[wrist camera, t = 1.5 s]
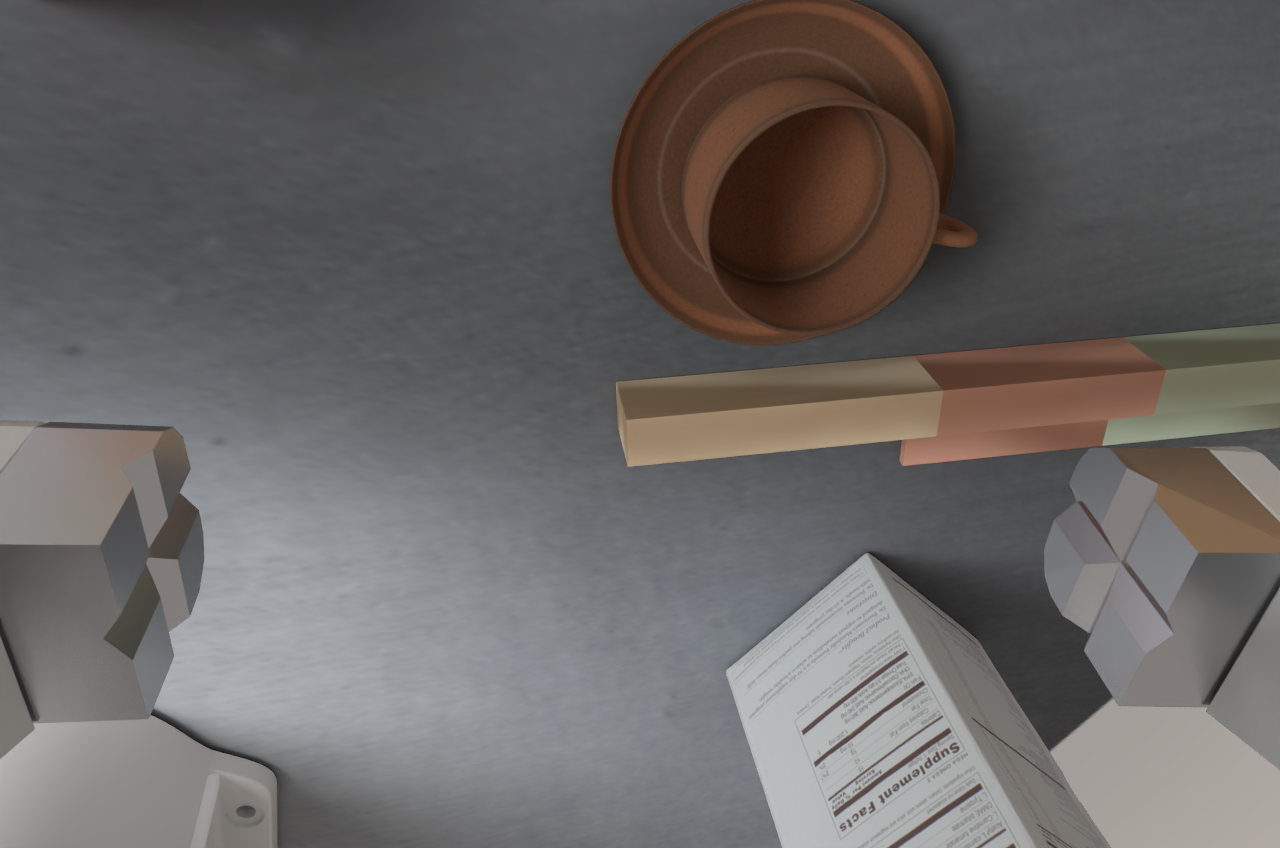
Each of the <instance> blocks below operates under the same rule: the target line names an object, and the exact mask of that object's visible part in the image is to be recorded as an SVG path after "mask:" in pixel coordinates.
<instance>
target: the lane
mask: <svg viewBox="0 0 1280 848" xmlns="http://www.w3.org/2000/svg"><path fill="white" fill-rule="evenodd" d="M616 393H617V419H618V429H619V433H620V437H621V441H622V445H623V449H624V453H625V457H626V461H627V465H628V467H630V466H640V465H650V464H660V463H670V462H681V461H691V460H701V459H711V458H721V457H732V456H742V455H752V454H762V453H772V452H782V451H793V450H803V449H813V448H823V447H833V446H844V445H854V444H864V443H874V442H884V441H894V440H902V444H901V452H900V460H899V461H900V463H901V464H902V465H903V466H907V465H917V464H927V463H937V462H947V461H957V460H967V459H976V458H986V457H996V456H1006V455H1016V454H1026V453H1036V452H1045V451H1055V450H1065V449H1075V448H1085V447H1095V446H1105V445H1114V444H1124V443H1134V442H1144V441H1154V440H1164V439H1174V438H1183V437H1193V436H1203V435H1213V434H1223V433H1233V432H1243V431H1252V430H1262V429H1272V428H1280V323H1277V324H1266V325H1255V326H1243V327H1232V328H1221V329H1209V330H1198V331H1187V332H1175V333H1164V334H1153V335H1141V336H1130V337H1119V338H1107V339H1096V340H1085V341H1073V342H1062V343H1051V344H1039V345H1028V346H1017V347H1005V348H994V349H983V350H971V351H960V352H949V353H937V354H926V355H915V356H903V357H892V358H881V359H869V360H858V361H847V362H835V363H824V364H813V365H801V366H790V367H779V368H767V369H756V370H745V371H733V372H722V373H711V374H699V375H688V376H677V377H665V378H654V379H643V380H631V381H620V382H616Z"/></svg>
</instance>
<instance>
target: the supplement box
mask: <svg viewBox="0 0 1280 848" xmlns="http://www.w3.org/2000/svg"><path fill="white" fill-rule="evenodd" d="M726 674H727V677H728V680H729V683H730V687H731V690H732V693H733V696H734V699H735V702H736V705H737V708H738V711H739V715H740V718H741V721H742V724H743V727H744V730H745V733H746V736H747V739H748V743H749V746H750V749H751V752H752V755H753V758H754V761H755V764H756V767H757V770H758V774H759V777H760V780H761V783H762V786H763V789H764V792H765V795H766V798H767V802H768V805H769V808H770V811H771V814H772V817H773V820H774V823H775V826H776V829H777V833H778V836H779V839H780V842H781V845H782V848H1111V847H1110V845H1109V844H1108V842H1107V841H1106V839H1105V838H1104V836H1103V835H1102V834H1101V832H1100V831H1099V829H1098V828H1097V826H1096V825H1095V824H1094V822H1093V821H1092V819H1091V817H1090V816H1089V814H1088V813H1087V811H1086V810H1085V808H1084V807H1083V805H1082V804H1081V803H1080V801H1079V800H1078V799H1077V797H1076V796H1075V794H1074V792H1073V791H1072V789H1071V788H1070V786H1069V784H1068V783H1067V781H1066V779H1065V777H1064V775H1063V773H1062V771H1061V770H1060V768H1059V766H1058V765H1057V763H1056V762H1055V760H1054V759H1053V757H1052V755H1051V754H1050V752H1049V750H1048V749H1047V747H1046V746H1045V744H1044V743H1043V741H1042V740H1041V738H1040V736H1039V735H1038V733H1037V732H1036V730H1035V729H1034V727H1033V726H1032V724H1031V723H1030V721H1029V720H1028V718H1027V716H1026V715H1025V713H1024V712H1023V710H1022V709H1021V707H1020V706H1019V704H1018V703H1017V701H1016V700H1015V698H1014V696H1013V695H1012V693H1011V692H1010V690H1009V689H1008V687H1007V686H1006V684H1005V683H1004V681H1003V679H1002V678H1001V676H1000V675H999V673H998V671H997V670H996V668H995V667H994V665H993V663H992V662H991V660H990V659H989V657H988V655H987V654H986V652H985V651H984V649H983V647H982V646H981V644H980V643H979V641H978V640H977V639H976V638H975V637H974V636H972V635H971V634H970V633H969V632H968V631H967V630H965V629H964V628H963V627H962V626H960V625H959V624H958V623H957V622H955V621H954V620H953V619H952V618H950V617H949V616H948V615H947V614H945V613H944V612H943V611H942V610H940V609H939V608H938V607H936V606H935V605H934V604H933V603H931V602H930V601H929V600H928V599H926V598H925V597H924V596H923V595H921V594H920V593H919V592H918V591H916V590H915V589H914V588H913V587H911V586H910V585H909V584H908V583H906V582H905V581H904V580H903V579H901V578H900V577H899V576H898V575H896V574H895V573H894V572H893V571H891V570H890V569H889V568H888V567H886V566H885V565H884V564H883V563H881V562H880V561H879V560H878V559H876V558H875V557H873V556H872V555H871V554H869V553H865V554H864V555H863V556H861V557H860V558H859V559H858V560H857V561H856V562H854V563H853V564H852V565H851V566H850V567H848V568H847V569H846V570H845V571H844V572H843V573H841V574H840V575H839V576H838V577H837V578H835V579H834V580H833V581H832V582H831V583H829V584H828V585H827V586H826V587H825V588H824V589H822V590H821V591H820V592H819V593H818V594H816V595H815V596H814V597H813V598H812V599H810V600H809V601H808V602H807V603H806V604H805V605H803V606H802V607H801V608H800V609H799V610H797V611H796V612H795V613H794V614H793V615H792V616H790V617H789V618H788V619H787V620H786V621H784V622H783V623H782V624H781V625H780V626H779V627H777V628H776V629H775V630H774V631H773V632H771V633H770V634H769V635H768V636H767V637H765V638H764V639H763V640H762V641H761V642H759V643H758V644H757V645H756V646H755V647H753V648H752V649H751V650H750V651H749V652H748V653H746V654H745V655H744V656H743V657H742V658H741V659H739V660H738V661H737V662H736V663H734V664H733V665H732V666H731V667H729V668H728V669H727V671H726Z"/></svg>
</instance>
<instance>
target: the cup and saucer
mask: <svg viewBox="0 0 1280 848" xmlns="http://www.w3.org/2000/svg"><path fill="white" fill-rule="evenodd" d="M955 161H956V137H955V127H954V120H953V115H952V110H951V106H950V102H949V99H948V96H947V93H946V90H945V88H944V85H943V83H942V81H941V78H940V76H939V74H938V72H937V71H936V69H935V67H934V65H933V64H932V62H931V60H930V59H929V58H928V56H927V55H926V54H925V52H924V51H923V49H922V48H921V47H920V46H919V45H918V44H917V42H916V41H915V40H914V39H913V38H912V37H911V36H910V35H909V34H908V33H907V32H906V31H904V30H903V29H902V28H901V27H900V26H898V25H897V24H896V23H895V22H893V21H892V20H890V19H889V18H887V17H886V16H884V15H883V14H881V13H879V12H877V11H875V10H873V9H871V8H869V7H867V6H864V5H862V4H859V3H856V2H854V1H851V0H754V1H751V2H748V3H744V4H741V5H739V6H736V7H734V8H732V9H729V10H727V11H725V12H722V13H720V14H719V15H717V16H715V17H713V18H711V19H710V20H708V21H706V22H704V23H703V24H701V25H700V26H699V27H697V28H696V29H694V30H693V31H691V32H690V33H689V34H687V35H686V36H685V37H684V38H683V39H681V40H680V41H679V42H678V43H677V44H676V45H674V46H673V47H672V48H671V49H670V50H669V51H668V52H667V54H666V55H665V56H664V57H663V58H662V59H661V60H660V61H659V62H658V63H657V65H656V66H655V67H654V68H653V70H652V71H651V72H650V73H649V75H648V76H647V78H646V79H645V81H644V82H643V84H642V85H641V87H640V88H639V90H638V91H637V93H636V95H635V97H634V99H633V101H632V103H631V105H630V106H629V109H628V111H627V113H626V116H625V118H624V121H623V123H622V126H621V129H620V132H619V135H618V138H617V142H616V146H615V151H614V155H613V160H612V169H611V178H610V199H611V210H612V217H613V222H614V228H615V232H616V235H617V238H618V242H619V245H620V248H621V250H622V253H623V255H624V257H625V260H626V262H627V264H628V265H629V267H630V269H631V271H632V273H633V275H634V276H635V278H636V279H637V280H638V282H639V283H640V285H641V286H642V288H643V289H644V290H645V291H646V292H647V293H648V295H649V296H650V297H651V298H652V299H653V300H654V301H655V302H656V303H657V304H658V305H659V306H660V307H661V308H662V309H663V310H665V311H666V312H667V313H669V314H670V315H671V316H672V317H674V318H675V319H677V320H678V321H680V322H682V323H683V324H685V325H686V326H688V327H690V328H692V329H694V330H696V331H699V332H701V333H703V334H706V335H708V336H711V337H714V338H717V339H721V340H725V341H729V342H734V343H741V344H750V345H777V344H785V343H793V342H797V341H802V340H806V339H810V338H813V337H816V336H820V335H823V334H827V333H832V332H836V331H840V330H843V329H846V328H849V327H851V326H854V325H856V324H858V323H861V322H863V321H865V320H866V319H868V318H870V317H872V316H873V315H875V314H877V313H878V312H879V311H881V310H882V309H884V308H885V307H886V306H888V305H889V304H890V303H891V302H892V301H893V300H895V299H896V298H897V297H898V296H899V295H900V294H901V293H902V292H903V291H904V290H905V288H906V287H907V286H908V285H909V284H910V282H911V281H912V280H913V279H914V277H915V276H916V274H917V273H918V271H919V270H920V268H921V267H922V265H923V263H924V261H925V259H926V257H927V255H928V253H929V251H930V248H931V246H932V243H933V244H939V245H944V246H950V247H970V246H972V245H974V244H975V243H976V242H977V239H978V236H977V233H976V231H975V230H974V229H973V228H971V227H970V226H969V225H967V224H965V223H963V222H962V221H960V220H957V219H955V218H953V217H950V216H948V215H945V214H944V212H945V210H946V207H947V203H948V200H949V196H950V193H951V189H952V183H953V178H954V171H955ZM939 228H941V229H939Z"/></svg>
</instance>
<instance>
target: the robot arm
mask: <svg viewBox="0 0 1280 848" xmlns="http://www.w3.org/2000/svg"><path fill="white" fill-rule="evenodd" d="M189 471H190V464H189V460H188V456H187V452H186V448H185V444H184V440H183V436H182V435H181V434H180V433H179V432H178V431H177V430H176V429H175V428H174V427H164V426H139V425H115V424H90V423H65V422H49V423H44V422H41V421H0V848H277V780H276V777H275V775H274V773H273V772H272V771H271V770H270V769H268V768H267V767H265V766H263V765H261V764H259V763H256V762H253V761H250V760H247V759H244V758H240V757H237V756H233V755H229V754H225V753H222V752H218V751H214V750H211V749H209V748H207V747H205V746H203V745H201V744H200V743H198V742H196V741H194V740H193V739H191V738H190V737H188V736H187V735H185V734H184V733H182V732H181V731H179V730H177V729H176V728H174V727H173V726H171V725H169V724H167V723H166V722H164V721H162V720H160V719H158V718H156V717H154V716H152V715H150V714H151V712H152V710H153V707H154V705H155V702H156V700H157V697H158V695H159V692H160V690H161V687H162V685H163V682H164V680H165V677H166V675H167V673H168V670H169V668H170V665H171V663H172V660H173V658H174V653H173V649H172V645H171V640H170V636H169V631H171V630H172V629H173V628H175V627H176V626H177V625H179V624H180V623H182V622H183V621H184V620H186V619H187V618H189V617H190V615H191V612H192V609H193V607H194V604H195V601H196V599H197V596H198V593H199V589H200V583H201V576H202V570H203V563H204V543H203V530H202V524H201V519H200V514H199V510H198V509H197V508H196V507H195V506H194V505H192V504H191V503H190V502H189V501H188V500H187V499H186V498H185V497H184V496H183V495H181V494H180V490H181V488H182V486H183V484H184V482H185V480H186V477H187V475H188V473H189ZM1069 483H1070V486H1071V488H1072V491H1073V493H1074V496H1075V498H1076V501H1077V502H1075V503H1074V504H1073V505H1072V506H1070V507H1069V508H1068V509H1067V510H1066V511H1064V512H1063V513H1062V514H1061V515H1059V516H1058V517H1057V518H1056V519H1054V522H1053V524H1052V527H1051V530H1050V533H1049V536H1048V539H1047V541H1046V544H1045V547H1044V575H1045V578H1046V582H1047V585H1048V589H1049V592H1050V595H1051V597H1052V599H1053V600H1054V602H1055V604H1056V606H1057V607H1058V609H1059V611H1060V612H1061V614H1062V615H1063V616H1064V617H1066V618H1067V619H1069V620H1070V621H1072V622H1073V623H1075V624H1076V625H1078V626H1079V627H1081V628H1082V629H1084V630H1085V631H1087V632H1088V636H1087V640H1086V644H1085V648H1084V651H1085V653H1086V655H1087V656H1088V658H1089V659H1090V661H1091V663H1092V664H1093V666H1094V667H1095V669H1096V671H1097V672H1098V674H1099V675H1100V677H1101V679H1102V680H1103V682H1104V683H1105V685H1106V687H1107V688H1108V690H1109V691H1110V693H1111V695H1112V696H1113V698H1114V699H1115V701H1116V702H1117V704H1118V705H1119V706H1158V707H1164V706H1165V707H1208V709H1207V710H1206V712H1208V713H1209V714H1210V715H1211V716H1212V717H1214V718H1215V719H1216V720H1218V721H1219V722H1220V723H1221V724H1222V725H1224V726H1225V727H1226V728H1228V729H1229V730H1230V731H1231V732H1233V733H1234V734H1235V735H1236V736H1238V737H1239V738H1240V739H1241V740H1243V741H1244V742H1245V743H1246V744H1248V745H1249V746H1250V747H1252V748H1253V749H1254V750H1255V751H1257V752H1258V753H1259V754H1260V755H1262V756H1263V757H1264V758H1265V759H1267V760H1268V761H1269V762H1270V763H1272V764H1273V765H1274V766H1275V767H1277V768H1278V769H1279V770H1280V470H1279V469H1278V468H1277V467H1276V466H1275V465H1273V464H1272V463H1271V462H1270V461H1269V460H1268V459H1267V458H1266V457H1265V456H1264V455H1263V454H1262V453H1260V452H1257V451H1255V450H1252V449H1250V448H1247V447H1244V446H1218V447H1192V448H1108V447H1091V448H1090V449H1089V450H1088V451H1087V452H1086V454H1085V455H1084V456H1083V457H1082V458H1081V459H1080V460H1079V461H1078V463H1077V466H1076V468H1075V470H1074V473H1073V475H1072V477H1071V480H1070V482H1069Z"/></svg>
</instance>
